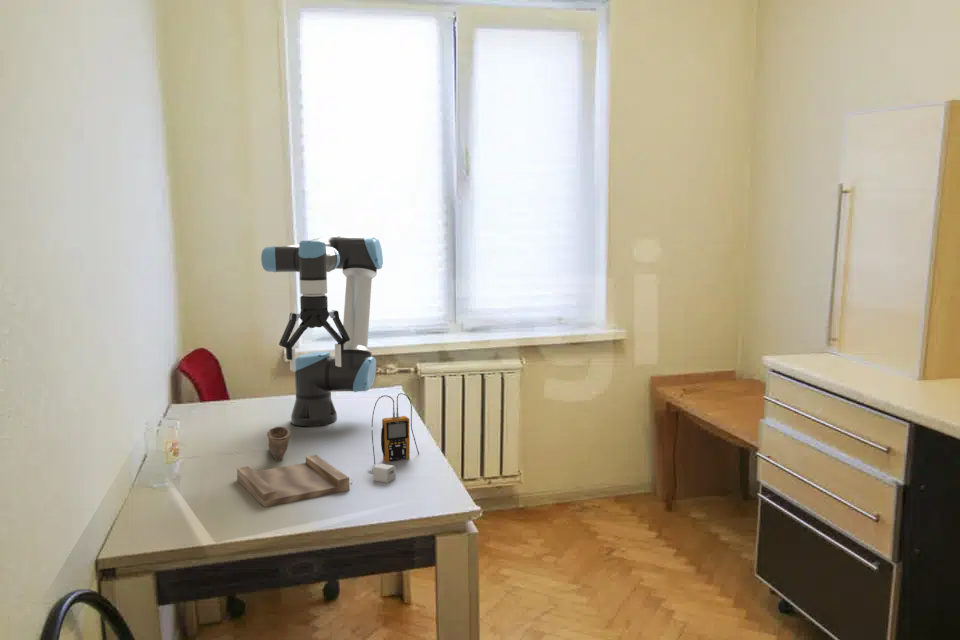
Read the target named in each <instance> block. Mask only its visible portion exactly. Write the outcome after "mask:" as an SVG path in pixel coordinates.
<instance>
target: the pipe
mask: <svg viewBox="0 0 960 640" xmlns="http://www.w3.org/2000/svg"><path fill="white" fill-rule="evenodd" d="M266 434H267V438H268V448H269V451H270V453H271V455H272V457H273V458H274V459H275V461H276V462H279V461H282V460H283V458H284V457H285V454H286V452H287V450H288V446H289V443H290V437H291V430H290V429H289V428H288V427H286V426H280V425H279V426H274V427H273V428H272V427H271V428H270V429H269V430H267V433H266Z"/></svg>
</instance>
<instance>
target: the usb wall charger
mask: <svg viewBox="0 0 960 640" xmlns="http://www.w3.org/2000/svg"><path fill="white" fill-rule="evenodd" d="M396 470H397V468H396V466H395V465H391V464H386V463H379V464H377V465H374V466H373V468H372V469H371V470H368V471H367V474H369V475H372V476H373V477H372V478H373V481H374V482H375V481H376V482H381V483H384V484H385V483H387V484H389V483H390V482H392V481H393V480H395V479H396V477H397V476H396V474H397V473H396Z"/></svg>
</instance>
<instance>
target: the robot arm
mask: <svg viewBox="0 0 960 640" xmlns="http://www.w3.org/2000/svg"><path fill="white" fill-rule="evenodd" d="M380 242H381V241H380V240H379V238H378V237H377V236H375V235H368V234H348V235H347V234H345V235H343V234H342V235H339V234H335V235H328V236H327V235H326V236H323V237H318V238H312V239H309V240H301V241H299V243H297V244H292V245H291V244H290V245H282V246H275V245H274V246H266V247H264V248H263V249H262V252H261V255H260V257H261V259H260V261H261V267H262V269H263V270H264V271H266V272H270V273H286V272H287V273H293V272H295V273H299V294H301V296H300V312H299V313H294V312H290V313H289V316H288V317H289V319H288V321H287V324H286V327H285V329H284V332H283V334H282V336H281V338H280V340H279V343H278V345H279V346H280V347H283V348H285V352H286V356H285V357H286V359H287V360H288V361H289V371H291V372H293V373H294V383H295V388H294V389H295V402H294V405H293V408H292V412H291V415H290V421H291V424H293V425H295V426H300V427H318V426H326V425H330V424H333V423H335V422H337V420H338V414H337V413H338V412H337V410H336V408H335V405H334V403H333V399H332V392H354V393H358V392H359V393H360V392H367V391H369V390H370V389H371V388H372V386H373V384H374V381H375V378H376V374H377V359H376V358H375V357H374V356H372V350H370V349H369V348H368V345H369V344H368V343H369V341H368V339H369V325H370V313H371V312H370V311H371V310H370V309H371V294H372V282H373V281H372V280H373V279H374V277H376V276H377V271H378V270H381V269H382V268H383V263H384V262H383V261H384V260H383V258H384V257H383V250H382V246H381V243H380ZM336 269H337V270H338V269H339V270H342V274H343V275H344V276H345V277H346V278H345V279H346V280H345V295H344V308H343V309H344V311H343V322H342V321H341V318H340V314H339V311H338V310H334V309H332V310H331V311H329V310H328V309H329V308H328V307H329V306H328V296H327V295H326V294H327V293H328V276H327V275H328V274H327V273H330V272H332V271H333V270H336ZM329 317H330V318H331V319H332V321H333V323H334V325H335V326H336V328H337V330H338V332H339V334H340V335H339V334H338V333H337V331H336V330H335V329H334V328H333V326H331V324H330V323H329V322H328V321H327V320H328V319H329ZM299 319H300V320H301V322H300V323H299V325H298V327H297V329H296V330H295V332H294V333H293V330H294V329H295V326H296V323H297V322H298V320H299ZM322 327H323V328H324V329H325V330H326V331H327V332H328V334H330V335H331V337H332V338H333V339H334V340H335V342H337V343H334V356H331V353H330V351H315V352H308V353H305V354H301V355H299V356H297V357H296V348H294V346H295V345H296V343H297V342H298V340H299V339H300V338H301V336H302V335H303V333H304V332H305V331H306V330H308V328H310V329H314V328H322ZM292 333H293V334H292Z"/></svg>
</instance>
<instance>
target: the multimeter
mask: <svg viewBox="0 0 960 640" xmlns="http://www.w3.org/2000/svg"><path fill="white" fill-rule="evenodd" d="M399 395H403V396H405V397H406V398H408V401H409V403H410V418H409V417H408V416H406V415H401V416H399V403H398V400H399V399H398V398H399ZM384 397H388V398H389V399H391V400H392V402H393V403H392V405H393V408H392V417H384V418H382V420H381V424H382V425H381V428H380V431H381V432H380V443H381V444H380V446H381V452H382V461H384V464H386V463H387V464H388V463H391V462H396V461H403V460H410V457H411V456H410V453H411V451H410V450H411V449H410V437H411V435H410V429H411V433H412V437H413V440H414V444H415V448H416V450H417V454H418V455H420V452H419V449H418V446H417V442H416V438H415V435H414V430H413V425H412V424H413V422H412V421H413V418H412V417H413V416H412V415H413V414H412V413H413V410H412V409H413V405H412V401H411V399H410V397H409V396H408V395H407V394H405V393H398V394H397V397H396V411H395V401H394V398H393V397H391V396H390V395H381V396H379V397H378V398H377V400H376V402H375V404H374V406H373V407H374V408H373V411H372V415H371V417H372V418H371V426H373V423H374V422H373V421H374V414H375V409H376V406H377V403H378V401H379V400H380V399H381V398H384ZM373 434H374V433H373V431H371V441H372V442H371V443H372V451H373V454H372V455H373V461H374V463H373V464H374V465H376V455H375V448H374V447H375V445H374V435H373Z"/></svg>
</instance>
